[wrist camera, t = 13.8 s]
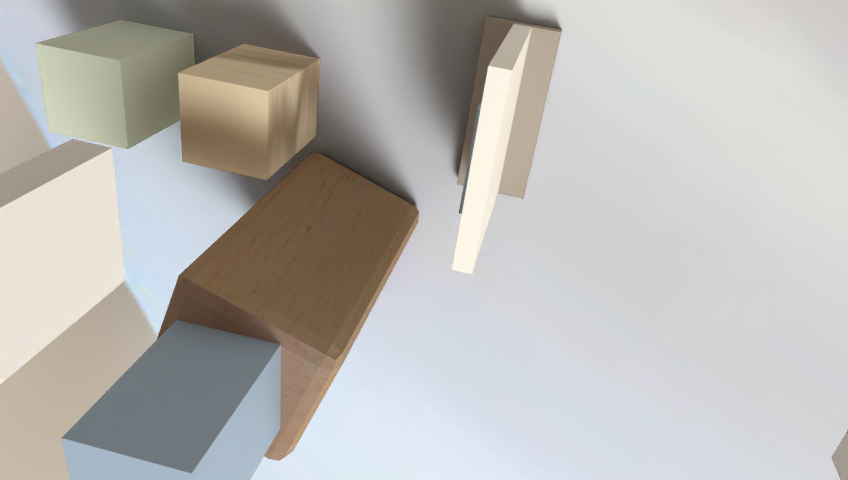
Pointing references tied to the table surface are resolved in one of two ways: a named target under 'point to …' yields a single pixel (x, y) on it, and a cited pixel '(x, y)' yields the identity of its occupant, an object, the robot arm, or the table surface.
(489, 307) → the table surface
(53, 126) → the sage block
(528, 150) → the placard
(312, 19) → the table surface
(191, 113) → the maple block
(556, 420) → the table surface
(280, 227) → the wooden block
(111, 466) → the slate blue block
